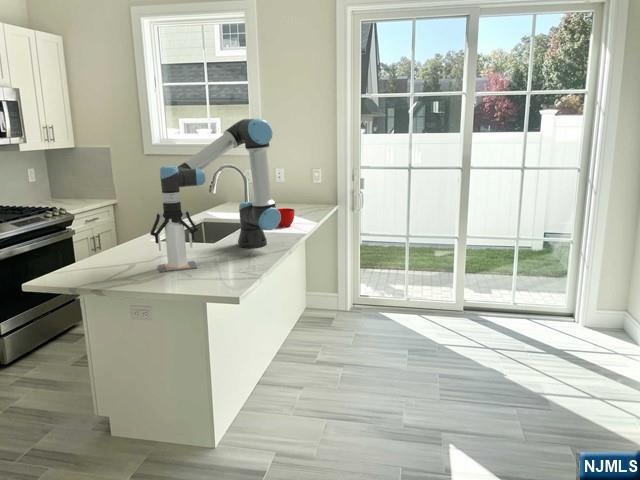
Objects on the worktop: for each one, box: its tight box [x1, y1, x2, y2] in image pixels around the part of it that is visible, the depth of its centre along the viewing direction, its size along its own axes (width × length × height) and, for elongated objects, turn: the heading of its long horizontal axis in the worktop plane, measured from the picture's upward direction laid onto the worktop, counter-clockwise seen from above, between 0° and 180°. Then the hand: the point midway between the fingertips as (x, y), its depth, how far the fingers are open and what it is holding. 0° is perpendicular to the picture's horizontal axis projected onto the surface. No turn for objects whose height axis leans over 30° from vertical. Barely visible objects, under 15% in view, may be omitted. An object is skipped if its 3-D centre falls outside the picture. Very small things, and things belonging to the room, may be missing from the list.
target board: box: [157, 260, 198, 274], centre depth 228 cm, size 16×11×1 cm
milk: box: [164, 219, 188, 268], centre depth 225 cm, size 6×6×22 cm
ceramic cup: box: [277, 207, 295, 228], centre depth 312 cm, size 13×17×10 cm
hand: (175, 248), depth 226 cm, fingers open, 13 cm apart
